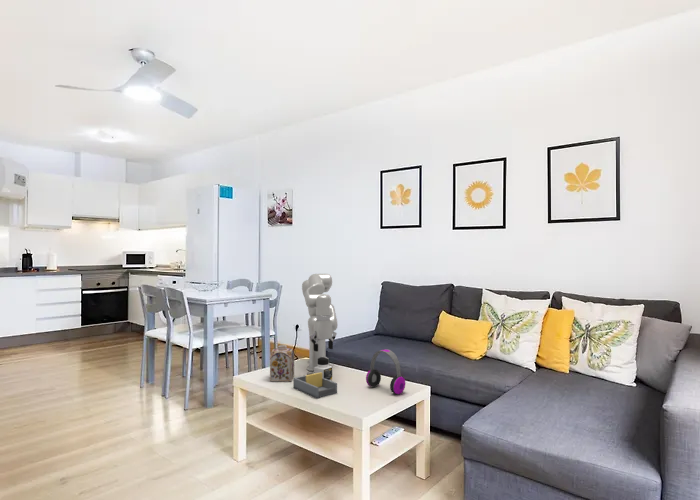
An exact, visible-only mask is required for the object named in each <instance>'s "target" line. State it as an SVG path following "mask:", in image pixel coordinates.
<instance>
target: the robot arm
mask: <svg viewBox="0 0 700 500" xmlns="http://www.w3.org/2000/svg"><path fill="white" fill-rule="evenodd" d="M332 286H333V277H332V275H330V274H329V273H313V274H311V275H309V277H308V279H306V280H304V281H303V282H302V285H301V290H302V294H303V297H304V300H305V301H304V302H305V305H306V307H307V310H308V314H309V318H308V320H307V327H308V338H309V341H308V343H309V347H308V349H309V359H308V360H307V362H306V363H307V364H308V366H307V367H306V370H307V371H308V372H312V373H314V367H316V366H318V358H320V357H326V340H328V343H327V344H328V346H327V347H328V349H329V350H333V349H334V348H333V347H334V341H335V339H336V336H337V334H338V333H337V332H336V330H337V329H338V318H337V314H336V309H335V306H334V304H332V298H331V297H332V296H330V295H329V294H327V293H328V292H329V291H330V289H331V288H332Z"/></svg>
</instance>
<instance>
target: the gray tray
mask: <svg viewBox="0 0 700 500" xmlns="http://www.w3.org/2000/svg"><path fill="white" fill-rule="evenodd" d="M292 381H293V386H292V387H293V389H295V390H297V391H299V392H301V393H303V392H304V394H306V395H308V396H310V397H312V398H315V399H321V398H325V397H328V396H329V397H330V396H333V395H337V394H338V382H335V381H332V380H328V379H325V378H322V386H321V387H316V386H314V385H311V384H309V383H306V375H303V376H302V375H301V376H296V377H293V379H292Z"/></svg>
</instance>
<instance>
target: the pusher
mask: <svg viewBox="0 0 700 500" xmlns="http://www.w3.org/2000/svg"><path fill="white" fill-rule="evenodd" d="M305 376H306V383H309V384H311V385H314V386H316V387H321V386H322V372H320V373H315V374H314V372H308V373H306V375H305Z"/></svg>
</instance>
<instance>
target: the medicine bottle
mask: <svg viewBox="0 0 700 500" xmlns="http://www.w3.org/2000/svg"><path fill="white" fill-rule="evenodd" d="M320 372H322V378H325V379H328V380H330V381H332V380H333V366H331V365H330V360H329V357H327V356H325V357H320V358H318V366H316V367H314V372H313V374H315V373H320Z"/></svg>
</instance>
